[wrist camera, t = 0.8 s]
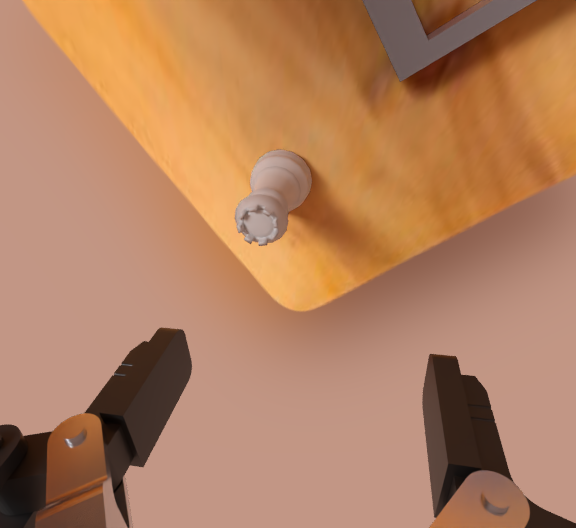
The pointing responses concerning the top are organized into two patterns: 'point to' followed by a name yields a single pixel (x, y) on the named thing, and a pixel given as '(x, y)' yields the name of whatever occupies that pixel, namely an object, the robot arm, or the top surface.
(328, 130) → the top surface
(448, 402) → the robot arm
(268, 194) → the rook chess piece
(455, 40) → the grey holder tray
